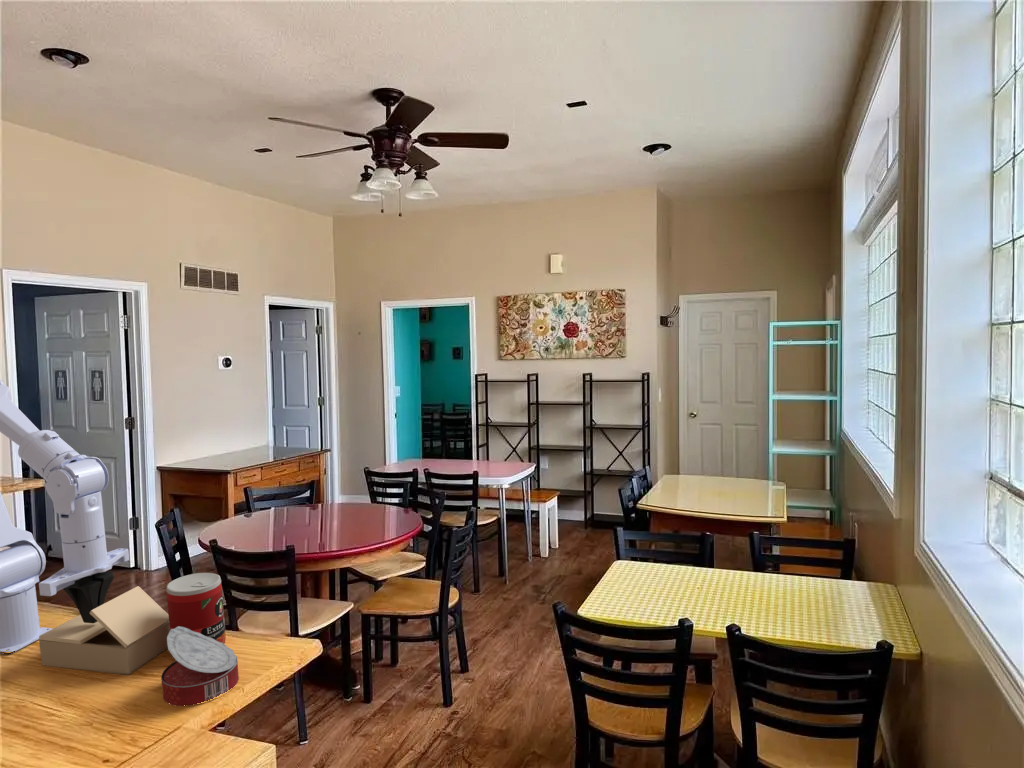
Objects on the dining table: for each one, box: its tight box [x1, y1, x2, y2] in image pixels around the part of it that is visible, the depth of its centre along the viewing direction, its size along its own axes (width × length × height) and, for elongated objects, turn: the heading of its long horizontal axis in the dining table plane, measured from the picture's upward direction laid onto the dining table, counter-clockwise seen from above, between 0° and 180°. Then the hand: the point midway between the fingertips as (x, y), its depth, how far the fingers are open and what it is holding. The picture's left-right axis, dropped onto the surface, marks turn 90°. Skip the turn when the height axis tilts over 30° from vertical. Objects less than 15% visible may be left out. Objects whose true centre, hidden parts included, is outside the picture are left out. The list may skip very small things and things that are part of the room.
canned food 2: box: [160, 626, 240, 707], centre depth 95 cm, size 11×10×10 cm
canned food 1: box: [165, 572, 227, 645], centre depth 105 cm, size 8×8×11 cm
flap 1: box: [38, 614, 106, 644], centre depth 105 cm, size 8×9×1 cm
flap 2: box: [90, 585, 169, 648], centre depth 103 cm, size 8×9×1 cm
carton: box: [38, 622, 170, 676], centre depth 104 cm, size 16×9×4 cm, turn 76°
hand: (92, 621), depth 105 cm, fingers closed
